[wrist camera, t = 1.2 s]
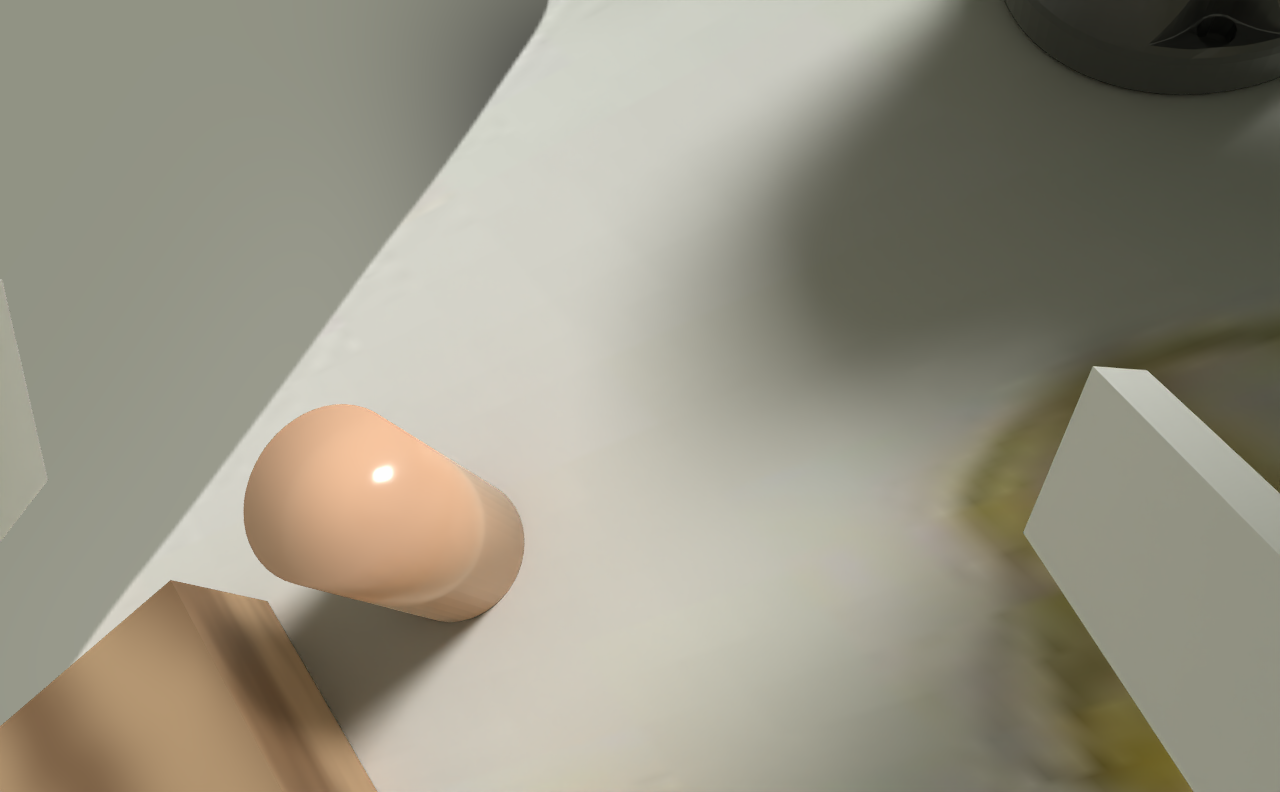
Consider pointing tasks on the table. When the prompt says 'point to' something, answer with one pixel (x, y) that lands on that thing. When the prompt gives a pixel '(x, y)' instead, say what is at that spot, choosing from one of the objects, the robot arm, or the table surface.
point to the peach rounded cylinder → (380, 518)
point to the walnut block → (182, 709)
